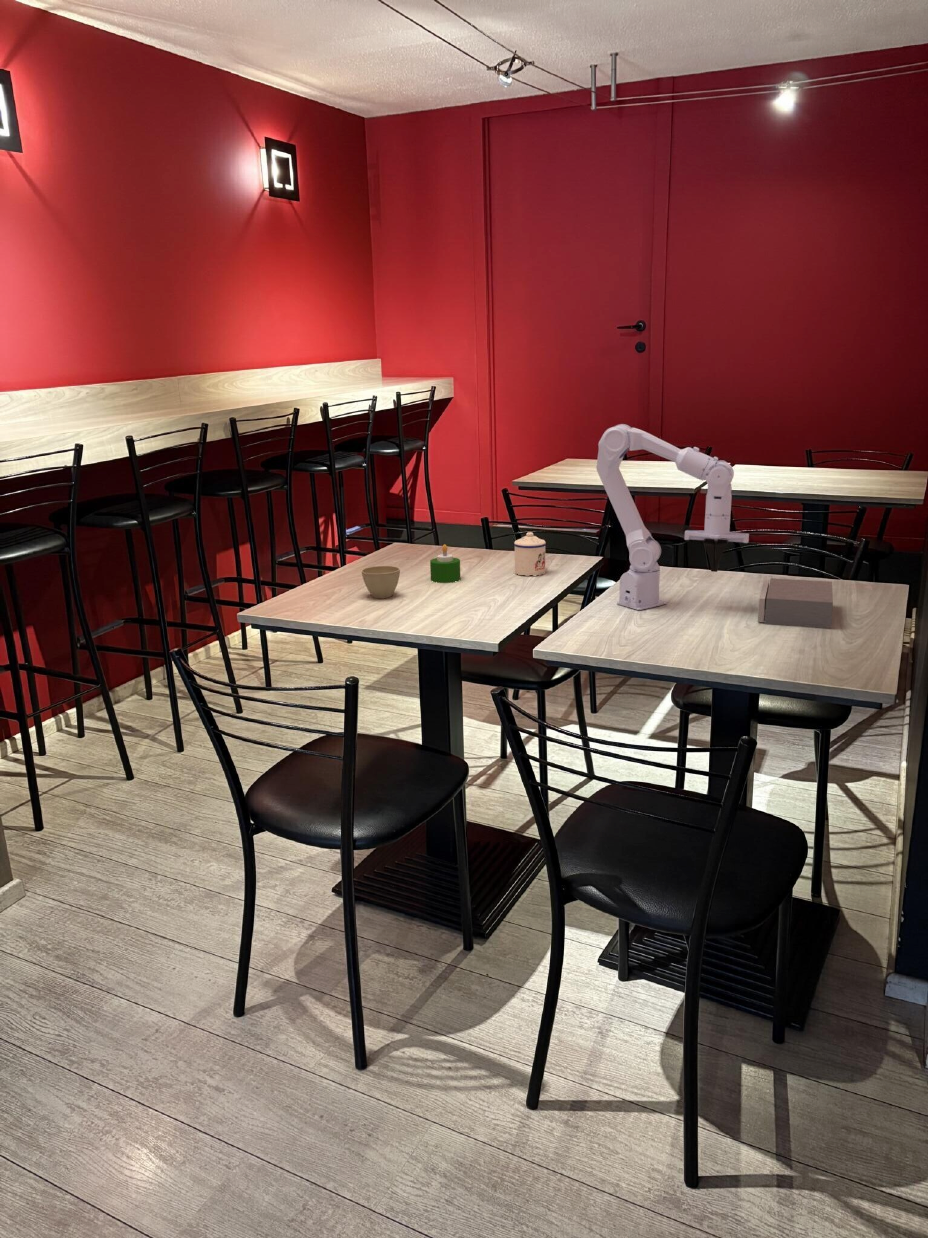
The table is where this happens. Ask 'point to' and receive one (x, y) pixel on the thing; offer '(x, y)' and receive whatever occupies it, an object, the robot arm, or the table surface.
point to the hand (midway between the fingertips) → (714, 570)
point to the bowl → (381, 580)
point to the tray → (763, 601)
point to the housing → (799, 603)
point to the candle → (445, 568)
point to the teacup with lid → (529, 555)
